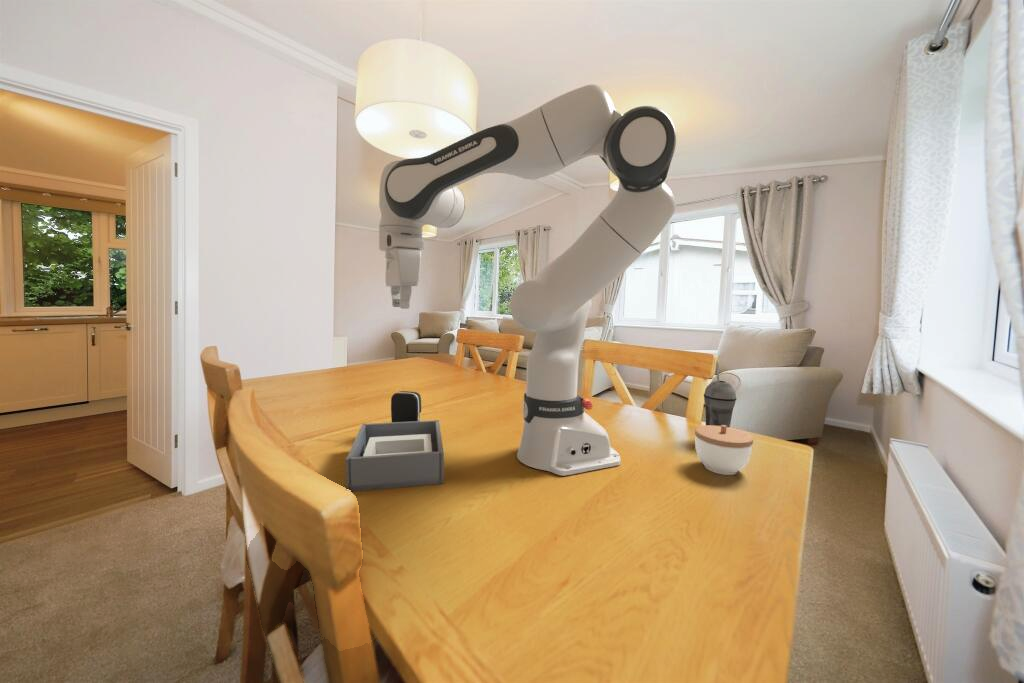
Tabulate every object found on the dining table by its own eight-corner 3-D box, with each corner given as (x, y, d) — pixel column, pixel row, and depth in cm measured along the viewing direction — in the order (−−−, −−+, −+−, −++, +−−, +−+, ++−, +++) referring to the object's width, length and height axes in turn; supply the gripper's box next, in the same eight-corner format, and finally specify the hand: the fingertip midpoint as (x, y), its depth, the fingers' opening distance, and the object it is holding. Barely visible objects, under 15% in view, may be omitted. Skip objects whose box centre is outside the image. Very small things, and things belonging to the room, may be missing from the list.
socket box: (438, 444, 92) (438, 420, 92) (443, 483, 73) (443, 452, 72) (362, 449, 89) (362, 423, 88) (346, 491, 69) (345, 459, 69)
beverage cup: (737, 448, 94) (744, 366, 92) (704, 445, 96) (710, 364, 93) (727, 438, 101) (733, 361, 99) (697, 435, 103) (702, 360, 101)
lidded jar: (762, 475, 79) (766, 430, 78) (724, 484, 75) (728, 437, 74) (716, 455, 89) (719, 416, 88) (681, 462, 85) (684, 420, 84)
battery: (423, 434, 99) (423, 390, 98) (417, 440, 95) (417, 394, 94) (397, 433, 100) (396, 389, 99) (390, 438, 96) (389, 392, 95)
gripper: (379, 246, 91) (379, 305, 93) (393, 235, 73) (392, 309, 75) (406, 249, 94) (405, 306, 96) (426, 239, 76) (425, 310, 77)
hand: (400, 307), depth 85 cm, fingers open, 8 cm apart
